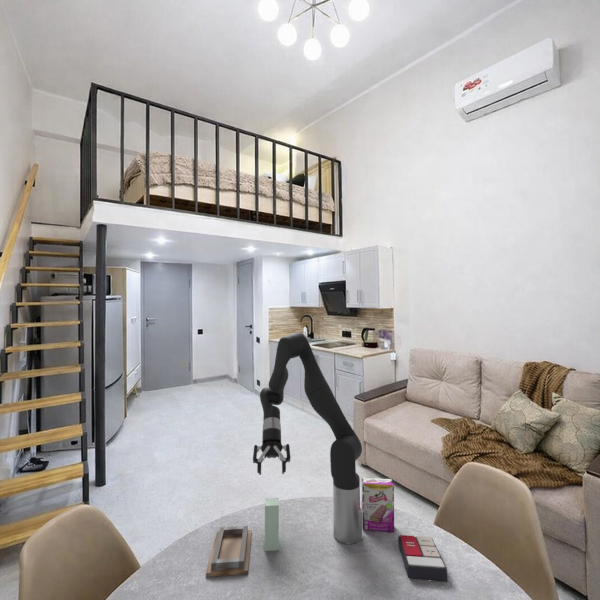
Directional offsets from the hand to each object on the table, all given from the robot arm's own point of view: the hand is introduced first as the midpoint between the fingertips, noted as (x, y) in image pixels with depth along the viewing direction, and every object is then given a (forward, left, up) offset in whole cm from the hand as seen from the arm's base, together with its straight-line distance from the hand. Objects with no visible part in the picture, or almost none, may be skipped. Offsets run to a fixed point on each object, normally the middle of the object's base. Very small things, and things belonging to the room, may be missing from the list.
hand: (271, 473), depth 121 cm
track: (+13, +14, -18) cm, 26 cm away
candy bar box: (-38, +6, -18) cm, 43 cm away
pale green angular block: (0, +12, -18) cm, 21 cm away
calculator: (-46, +23, -18) cm, 55 cm away
